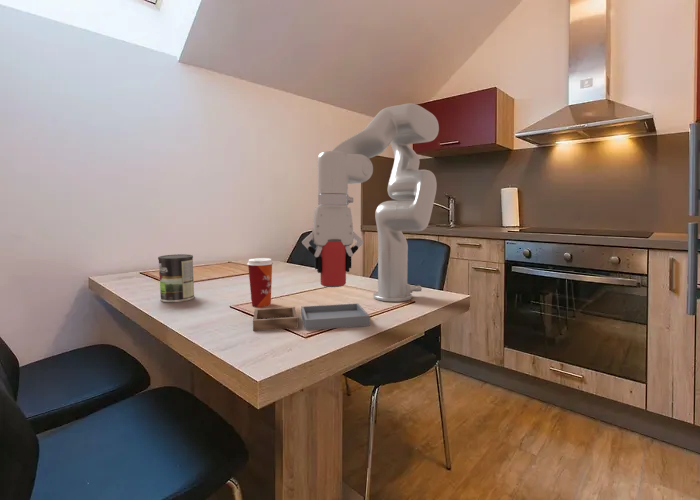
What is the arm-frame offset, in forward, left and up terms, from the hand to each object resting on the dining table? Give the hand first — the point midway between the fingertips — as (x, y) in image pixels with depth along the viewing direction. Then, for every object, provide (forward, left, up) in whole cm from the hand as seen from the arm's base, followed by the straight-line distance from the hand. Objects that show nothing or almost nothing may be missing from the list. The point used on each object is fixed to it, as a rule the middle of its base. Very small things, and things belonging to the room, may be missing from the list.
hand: (333, 271), depth 97 cm
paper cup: (+19, -21, -13) cm, 31 cm away
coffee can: (+46, -35, -13) cm, 59 cm away
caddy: (+15, -1, -13) cm, 20 cm away
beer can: (0, 0, -4) cm, 4 cm away
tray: (0, 0, -13) cm, 13 cm away
